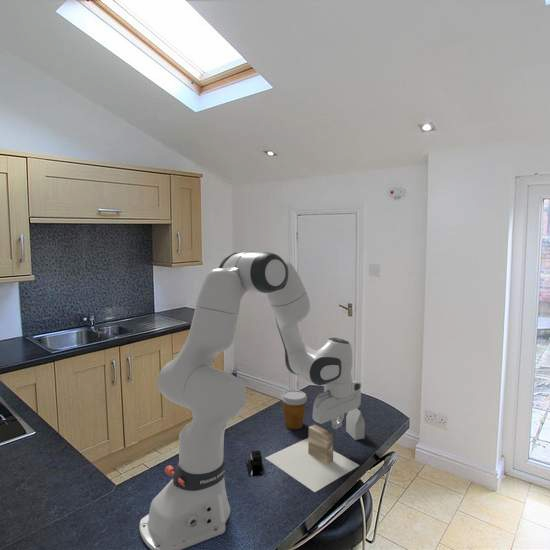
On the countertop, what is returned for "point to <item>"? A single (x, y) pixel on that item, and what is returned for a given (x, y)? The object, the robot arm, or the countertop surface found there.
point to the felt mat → (310, 466)
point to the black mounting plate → (255, 464)
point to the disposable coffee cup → (294, 408)
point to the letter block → (320, 443)
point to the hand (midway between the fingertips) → (336, 427)
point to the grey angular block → (355, 424)
